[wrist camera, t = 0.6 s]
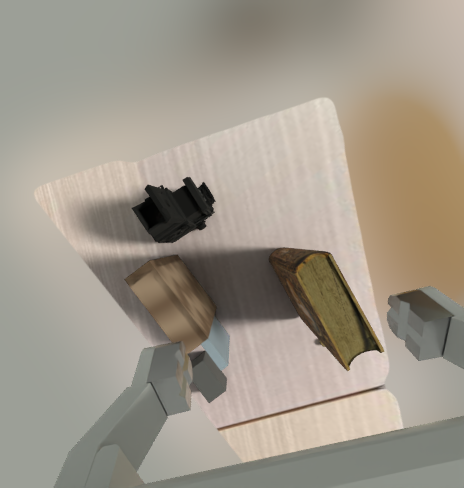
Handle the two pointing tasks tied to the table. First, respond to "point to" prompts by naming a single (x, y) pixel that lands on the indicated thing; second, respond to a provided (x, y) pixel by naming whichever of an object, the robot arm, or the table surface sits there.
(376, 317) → the table surface
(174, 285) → the open wooden box
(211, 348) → the door panel
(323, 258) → the book
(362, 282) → the table surface
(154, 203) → the camera
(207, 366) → the block
